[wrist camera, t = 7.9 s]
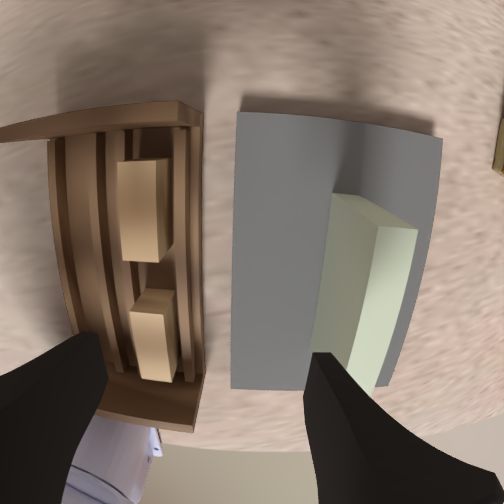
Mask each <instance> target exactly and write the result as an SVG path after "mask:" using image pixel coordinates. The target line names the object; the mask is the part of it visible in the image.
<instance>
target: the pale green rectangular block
mask: <svg viewBox="0 0 504 504" xmlns="http://www.w3.org/2000/svg"><path fill="white" fill-rule="evenodd" d="M417 234H418V229H416V228H415V227H413V226H412V225H410V224H408V223H407V222H405V221H403V220H402V219H400V218H398V217H396V216H395V215H393V214H391V213H390V212H388V211H386V210H384V209H383V208H381V207H379V206H377V205H376V204H374V203H372V202H370V201H368V200H367V199H365V198H363V197H361V196H359V195H349V194H339V193H332V197H331V207H330V215H329V224H328V232H327V240H326V248H325V255H324V263H323V270H322V277H321V283H320V290H319V296H318V302H317V308H316V314H315V320H314V326H313V332H312V337H311V343H310V352H311V356H312V353H313V352H331V353H332V354H333V355H334V356H335V358H336V359H337V360H338V361H339V362H340V364H341V365H342V366H343V367H344V368H345V370H346V371H347V372H348V373H349V374H350V375H351V377H352V378H353V379H354V380H355V381H356V382H357V383H358V385H359V386H360V387H361V388H362V389H363V390H364V391H365V392H366V393H367V394H368V395H369V396H370V397H371V394H372V392H373V389H374V387H375V384H376V381H377V379H378V376H379V373H380V370H381V368H382V365H383V362H384V359H385V356H386V353H387V350H388V347H389V344H390V341H391V338H392V335H393V331H394V328H395V325H396V321H397V318H398V314H399V311H400V307H401V304H402V300H403V296H404V292H405V288H406V284H407V280H408V276H409V272H410V267H411V263H412V258H413V254H414V249H415V244H416V239H417Z"/></svg>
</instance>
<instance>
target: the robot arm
mask: <svg viewBox="0 0 504 504" xmlns="http://www.w3.org/2000/svg"><path fill="white" fill-rule="evenodd" d="M108 379H109V377H108V373H107V369H106V365H105V362H104V358H103V353H102V349H101V345H100V341H99V336H98V333H92V332H86V331H82V332H80V333H78V334H76V335H74V336H73V337H71V338H69V339H67V340H66V341H64V342H62V343H61V344H59V345H57V346H56V347H54V348H52V349H50V350H49V351H47V352H45V353H44V354H42V355H40V356H39V357H37V358H35V359H33V360H31V361H29V362H28V363H26V364H24V365H22V366H20V367H18V368H16V369H14V370H12V371H10V372H8V373H6V374H4V375H1V376H0V504H137V503H138V502H139V501H140V499H141V497H142V493H143V490H144V486H145V483H146V479H147V476H148V472H149V469H150V464H151V462H152V458H153V455H154V456H163V450H162V447H161V443H160V439H159V436H158V432H157V428H152V427H147V426H141V425H136V424H131V423H126V422H121V421H116V420H112V419H107V418H103V417H99V416H95V415H94V414H95V412H96V410H97V408H98V406H99V404H100V402H101V399H102V396H103V394H104V391H105V388H106V385H107V382H108ZM303 402H304V416H305V425H306V430H307V435H308V440H309V445H310V449H311V454H312V459H313V464H314V468H315V473H316V479H317V487H318V500H319V504H503V502H504V490H503V488H502V486H501V484H500V482H499V480H498V478H497V476H496V474H495V473H493V472H490V471H487V470H484V469H482V468H479V467H476V466H473V465H470V464H467V463H465V462H463V461H460V460H458V459H456V458H454V457H452V456H450V455H448V454H446V453H444V452H442V451H440V450H438V449H436V448H435V447H433V446H431V445H430V444H428V443H427V442H425V441H423V440H422V439H420V438H419V437H417V436H416V435H414V434H413V433H411V432H410V431H409V430H407V429H406V428H405V427H403V426H402V425H401V424H400V423H398V422H397V421H396V420H394V419H393V418H392V417H391V416H390V415H389V414H387V413H386V412H385V411H384V410H383V409H382V408H381V407H380V406H379V405H378V404H377V403H376V402H375V401H374V400H373V399H372V398H371V397H370V396H369V395H368V394H367V393H366V392H365V391H364V390H363V389H362V388H361V387H360V386H359V385H358V383H357V382H356V381H355V380H354V379H353V378H352V377H351V375H350V374H349V373H348V372H347V371H346V370H345V368H344V367H343V366H342V365H341V364H340V362H339V361H338V360H337V359H336V358H335V356H334V355H333V354H332V353H331V352H313V353H312V358H311V362H310V367H309V372H308V377H307V381H306V386H305V390H304V395H303Z"/></svg>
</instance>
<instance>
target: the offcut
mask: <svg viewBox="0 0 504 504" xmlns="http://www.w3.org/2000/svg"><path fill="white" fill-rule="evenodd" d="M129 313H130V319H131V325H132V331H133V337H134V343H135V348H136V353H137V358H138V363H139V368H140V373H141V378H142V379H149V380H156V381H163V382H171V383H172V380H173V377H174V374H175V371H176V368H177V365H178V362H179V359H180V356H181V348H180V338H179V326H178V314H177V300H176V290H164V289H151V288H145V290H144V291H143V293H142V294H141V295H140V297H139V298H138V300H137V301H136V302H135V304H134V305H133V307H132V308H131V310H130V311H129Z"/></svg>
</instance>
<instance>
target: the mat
mask: <svg viewBox="0 0 504 504" xmlns="http://www.w3.org/2000/svg"><path fill="white" fill-rule="evenodd" d="M442 144H443V139H442V138H438V137H434V136H430V135H425V134H421V133H416V132H411V131H407V130H402V129H396V128H391V127H385V126H380V125H374V124H368V123H361V122H354V121H347V120H340V119H331V118H323V117H313V116H303V115H291V114H276V113H258V112H237V126H236V151H235V178H234V210H233V248H232V298H231V389H247V390H284V391H301V390H305V386H306V381H307V377H308V372H309V367H310V362H311V358H312V356H311V352H310V343H311V337H312V332H313V326H314V320H315V314H316V308H317V302H318V296H319V290H320V283H321V277H322V270H323V263H324V255H325V248H326V240H327V232H328V224H329V215H330V207H331V197H332V193H339V194H349V195H359V196H361V197H363V198H365V199H367V200H368V201H370V202H372V203H374V204H376V205H377V206H379V207H381V208H383V209H384V210H386V211H388V212H390V213H391V214H393V215H395V216H396V217H398V218H400V219H402V220H403V221H405V222H407V223H408V224H410V225H412V226H413V227H415V228H416V229H418V234H417V239H416V244H415V249H414V254H413V258H412V263H411V267H410V272H409V276H408V280H407V284H406V288H405V292H404V296H403V300H402V304H401V307H400V311H399V314H398V318H397V321H396V325H395V328H394V331H393V335H392V338H391V341H390V344H389V347H388V350H387V353H386V356H385V359H384V362H383V365H382V368H381V370H380V373H379V376H378V379H377V381H376V384H375V387H382V386H388V384H389V382H390V379H391V377H392V374H393V371H394V369H395V366H396V363H397V360H398V357H399V355H400V352H401V349H402V346H403V343H404V340H405V337H406V333H407V330H408V327H409V324H410V320H411V317H412V313H413V310H414V306H415V303H416V299H417V295H418V291H419V288H420V284H421V280H422V275H423V271H424V267H425V262H426V258H427V253H428V248H429V243H430V238H431V232H432V227H433V221H434V215H435V208H436V201H437V194H438V186H439V178H440V168H441V157H442Z"/></svg>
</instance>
